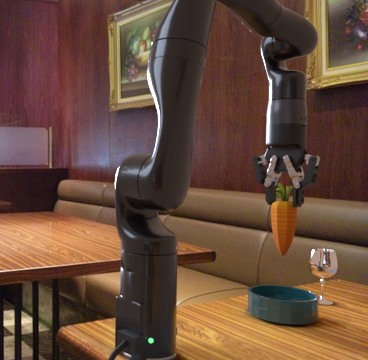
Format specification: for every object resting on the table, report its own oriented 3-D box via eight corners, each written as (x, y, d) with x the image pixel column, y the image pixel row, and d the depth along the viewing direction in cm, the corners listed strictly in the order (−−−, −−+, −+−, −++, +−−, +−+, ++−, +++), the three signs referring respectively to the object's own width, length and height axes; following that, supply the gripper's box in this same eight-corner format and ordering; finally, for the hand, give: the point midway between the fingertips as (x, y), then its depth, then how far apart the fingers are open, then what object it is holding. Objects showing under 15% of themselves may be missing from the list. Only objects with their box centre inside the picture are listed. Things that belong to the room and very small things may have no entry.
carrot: (299, 258, 99) (301, 183, 99) (273, 257, 100) (274, 183, 100) (292, 254, 104) (294, 182, 104) (267, 253, 105) (268, 182, 105)
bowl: (295, 331, 94) (296, 305, 93) (234, 313, 104) (235, 290, 104) (330, 319, 101) (331, 295, 101) (270, 303, 112) (271, 282, 112)
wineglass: (302, 300, 115) (303, 248, 115) (318, 297, 117) (320, 247, 117) (325, 306, 110) (326, 253, 109) (342, 303, 112) (343, 251, 112)
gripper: (244, 124, 105) (242, 204, 106) (311, 119, 93) (309, 209, 94) (264, 126, 109) (262, 202, 110) (331, 121, 97) (329, 208, 98)
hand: (284, 205), depth 102 cm, fingers closed on carrot, 5 cm apart
